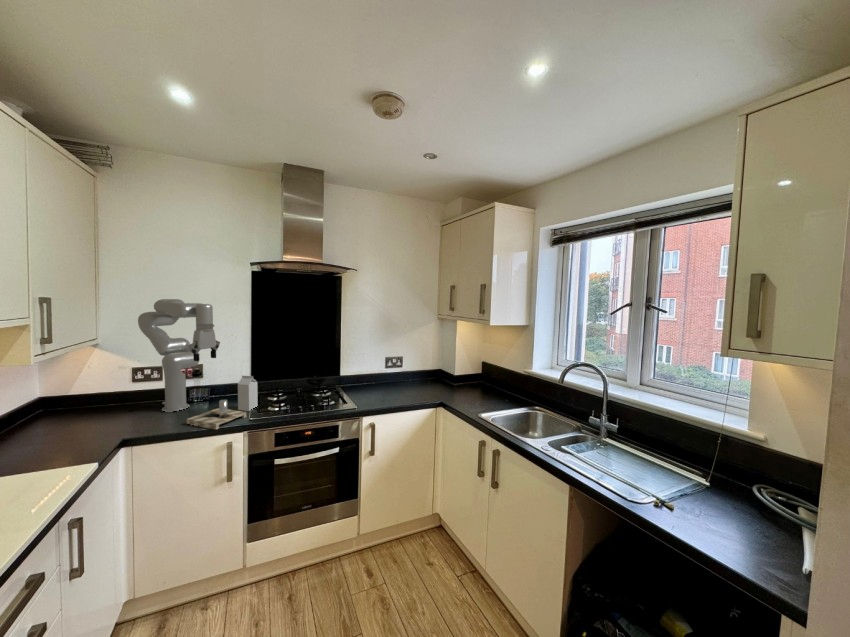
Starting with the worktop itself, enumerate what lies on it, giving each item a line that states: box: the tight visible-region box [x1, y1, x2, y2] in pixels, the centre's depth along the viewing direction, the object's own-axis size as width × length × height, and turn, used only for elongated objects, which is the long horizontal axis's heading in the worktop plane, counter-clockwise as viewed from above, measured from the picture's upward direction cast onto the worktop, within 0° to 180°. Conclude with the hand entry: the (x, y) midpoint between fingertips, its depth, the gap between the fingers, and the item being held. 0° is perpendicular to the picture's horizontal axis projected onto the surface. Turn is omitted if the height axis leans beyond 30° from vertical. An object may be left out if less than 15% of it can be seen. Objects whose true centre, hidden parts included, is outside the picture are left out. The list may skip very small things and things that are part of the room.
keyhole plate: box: [186, 407, 247, 430], centre depth 173 cm, size 19×18×3 cm
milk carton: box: [237, 375, 259, 412], centre depth 192 cm, size 7×7×19 cm
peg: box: [218, 399, 231, 425], centre depth 172 cm, size 6×6×11 cm
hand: (205, 359), depth 179 cm, fingers open, 9 cm apart
